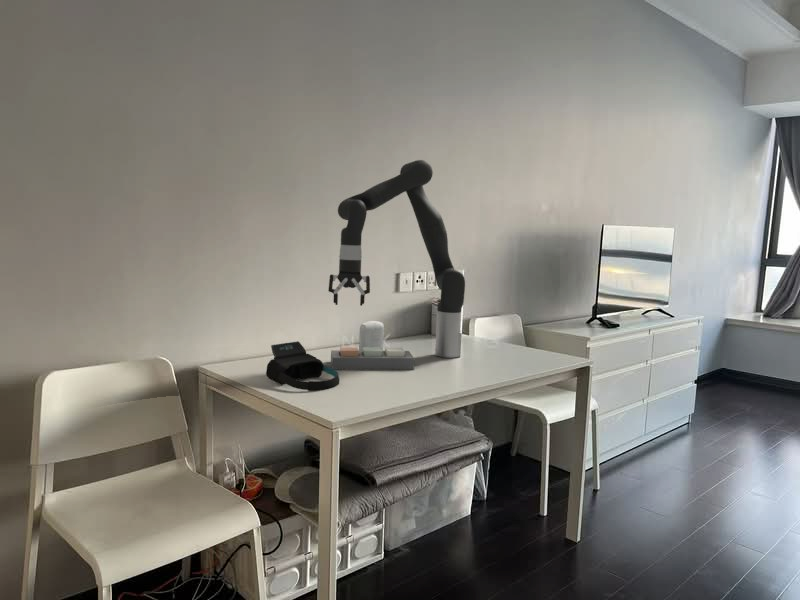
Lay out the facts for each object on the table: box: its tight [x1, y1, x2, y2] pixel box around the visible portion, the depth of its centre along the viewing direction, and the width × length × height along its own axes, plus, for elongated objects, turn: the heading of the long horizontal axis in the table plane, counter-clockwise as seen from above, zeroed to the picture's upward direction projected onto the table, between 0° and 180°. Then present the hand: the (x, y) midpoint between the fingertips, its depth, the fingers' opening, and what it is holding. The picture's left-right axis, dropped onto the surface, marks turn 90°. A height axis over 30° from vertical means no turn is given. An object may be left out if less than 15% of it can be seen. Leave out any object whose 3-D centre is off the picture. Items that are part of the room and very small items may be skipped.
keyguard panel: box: [330, 349, 415, 371], centre depth 220 cm, size 28×12×4 cm, turn 99°
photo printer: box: [358, 320, 385, 351], centre depth 240 cm, size 10×4×12 cm, turn 134°
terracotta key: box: [339, 346, 359, 356], centre depth 218 cm, size 6×6×3 cm
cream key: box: [384, 347, 406, 357], centre depth 221 cm, size 6×6×3 cm
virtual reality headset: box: [265, 341, 340, 392], centre depth 194 cm, size 19×22×10 cm
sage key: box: [363, 347, 382, 356], centre depth 220 cm, size 6×6×3 cm
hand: (348, 305), depth 218 cm, fingers open, 8 cm apart
